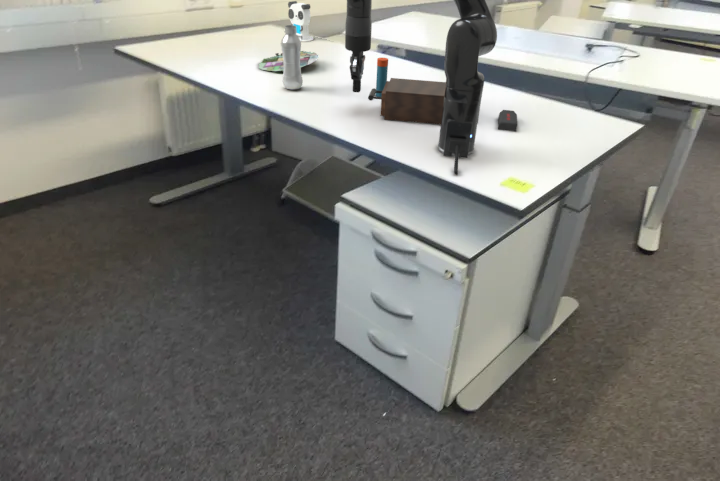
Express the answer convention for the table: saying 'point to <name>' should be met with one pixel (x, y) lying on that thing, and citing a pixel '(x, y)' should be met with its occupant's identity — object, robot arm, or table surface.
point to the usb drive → (507, 120)
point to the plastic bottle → (291, 58)
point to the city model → (277, 61)
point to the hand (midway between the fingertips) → (356, 91)
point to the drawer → (372, 96)
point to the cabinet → (414, 101)
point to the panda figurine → (300, 19)
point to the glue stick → (381, 74)
